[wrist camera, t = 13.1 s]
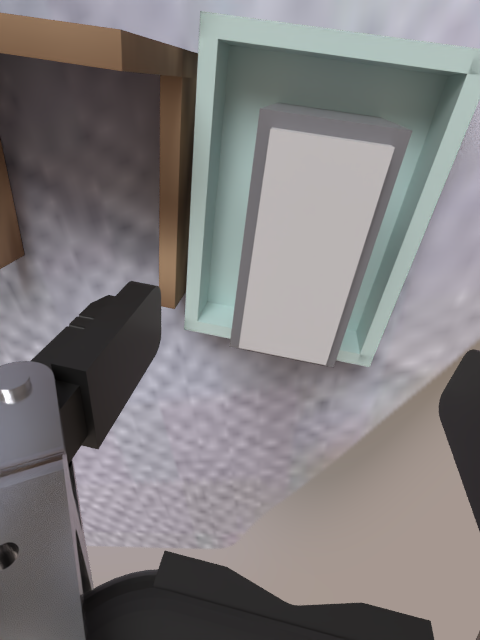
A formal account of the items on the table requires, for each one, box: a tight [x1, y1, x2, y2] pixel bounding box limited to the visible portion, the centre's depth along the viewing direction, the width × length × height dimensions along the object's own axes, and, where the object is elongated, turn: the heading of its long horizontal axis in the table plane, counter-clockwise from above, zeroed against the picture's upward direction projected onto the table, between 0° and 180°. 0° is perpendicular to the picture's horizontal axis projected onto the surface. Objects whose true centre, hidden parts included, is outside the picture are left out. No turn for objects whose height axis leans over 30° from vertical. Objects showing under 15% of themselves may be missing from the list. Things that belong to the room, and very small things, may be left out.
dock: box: [0, 13, 198, 309], centre depth 18 cm, size 13×13×9 cm
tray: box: [184, 11, 480, 367], centre depth 20 cm, size 16×12×3 cm
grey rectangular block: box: [229, 103, 412, 368], centre depth 17 cm, size 10×5×8 cm, turn 172°
